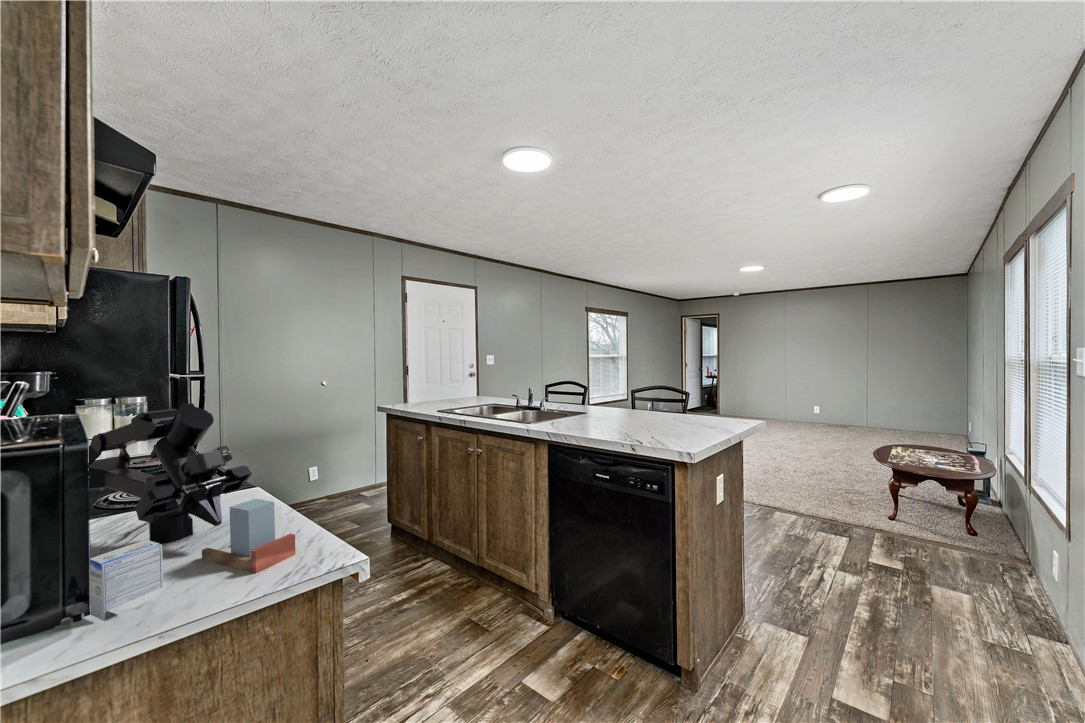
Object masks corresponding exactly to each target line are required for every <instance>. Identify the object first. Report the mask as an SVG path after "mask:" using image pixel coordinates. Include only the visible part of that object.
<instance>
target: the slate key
mask: <svg viewBox="0 0 1085 723" xmlns="http://www.w3.org/2000/svg"><path fill="white" fill-rule="evenodd" d="M275 522H276V520H275V501H271V500H266V499H265V500H264V499H260V498H253V499H250V500H247V501H244V502H242V503H239V504H235V505H231V506H230V507H229V529H230V530H229V531H230V532H229V534H230V535H229V536H230V538H229V539H230V540H229V541H230V553H232V554H236V555H241V556H245V557H249V558H251V550H253V549H255V548H258V547H260V546H262V545H265V544H267V543H269V542H272V541H274V540H276V527H275V526H276V525H275Z"/></svg>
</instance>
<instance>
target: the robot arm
mask: <svg viewBox="0 0 1085 723" xmlns="http://www.w3.org/2000/svg"><path fill="white" fill-rule="evenodd" d="M214 421H215V420H214V416H213V415H212V413H211V412H209V411H207V410H205V409H204V408H201V407H198V406H195V404H194V403H192V402H190V403H182V404H181V405H180V406H179V408H178V409H177V408H171V409H162V410H155V411H153V410H152V411H145V412H139V413H138V414H136V415H135V416H133V417H131V419H130V423H129V424H125V425H123V426H118V427H117V428H114V429H111V430H107V431H106V432H101V433H99V432H98V433H97V434H95V435H93V436H92V439H91V441H90V443H89V445H88V447H89V476H90V479H89V489H88V490H95V489H103V488H108V489H112V490H114V491H117V492H120V493H124V494H126V495H130V496H133V497H136V498H139V501H138V502H137V503H136V505H135V506H134V507H135V513H136V515H137V516H136V517H137V519H138V521H141V522H145V523H148V534H149V536H148V537H149V538H148V539H149V540H148V541H152V542H156V543H159V544H161V545H162V546H163V545H164V544H168V543H173V542H177V541H180V540H183V539H184V538H188V537H190V536H191V537H192V536H193V535H194V524H193V522H194V520H193V517H192V516H194V517H197V518H198V519H200V520H203V521H204V522H206V523H208V524H210V525H212V526H213V527H217V526H220V525H221V524H222V523H223V519H222V509H221V507H222V506H221V494H224V495H227V494H231V493H233V492H237V491H239V490H240V489H242V488H243V487H244V485H245V484H246V482H247V481H248V480H249V479H250V478H251V476H252V475H253V473H252V471H251V469H250V467H248V466H247V465H239V466H236V467H231V468H227V469H226V470H225V472H224V473H223V474H222V476H221V477H217V478H215V479H213V477H214V476H216V475H218V474H217V473H218V469H219V468H220V467H225V466H227V463H228V462H230V461H231V460H233V454H232V451H231V450H230V447H228V445H222V446H218V447H217V448H214V449H213V450H212V451H211V450H210V451H207V452H202V453H199V454H198V452H197V450H196V449H195V447H194V446H196V445H198V444H200V442H201V441H202V439H203V438H204V437H205V435H206V433H208V430H210V428H211V427H212V425H213V423H214ZM152 440H153V441H154V440H158V441H157V442H156V443H155V444H154V445H153V448H152V450H151V452H150V459H151V460H154V459H158V461H159V462H160V464H161V465H162V468H163V469H164V471H165V472H166V473H165V472H164V473H162V474H157V475H154V474H151V473H147V472H144V471H140V470H138V469H137V470H136V469H134V468H130V464H131V460H132V457H131V456H130V455H129V452H128V451H127V446H130V445H132V444H135V443H139V442H146V441H152ZM113 450H119V451H120V452H119V454H118V456H110V457H107V458H100V459H98V458H99V457H101V455H102V452H106V451H107V452H108V451H113ZM191 515H192V516H191Z"/></svg>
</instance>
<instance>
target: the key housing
mask: <svg viewBox="0 0 1085 723" xmlns="http://www.w3.org/2000/svg"><path fill="white" fill-rule="evenodd" d="M293 556H294V557H295V556H296V534H294V533H288V534H286V535H283V536H281V537H279V538H277V539H276V538H275V540H274V541H272V542H269V543H267V544H265V545H262V546H260V547H258V548H255V549H253V550H251V558H249V557H245V556H241V555H236V554H232V553H231V552H227V551H223V550H219V549H215V548H210V547H205V548H202V550H201V560H203V561H206V562H210V563H214V564H217V565H221V566H226V567H230V568H232V569H233V568H234V569H237V570H242V571H245V572H249V573H253V574H258V573H260V572H263V571H265V570H266V569H269V568H271V567H272V566H275V565H277V564H280V563H281V562H283V561H285V560H287V559H290V558H292V557H293Z"/></svg>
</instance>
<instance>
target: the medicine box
mask: <svg viewBox="0 0 1085 723" xmlns="http://www.w3.org/2000/svg"><path fill="white" fill-rule="evenodd" d="M89 559H90V605H91V615H90V616H92V617H94V616H95V617H94V618H96V617H98V618H97V619H99V618H100V619H99V620H101V619H102V620H101V621H107V620H108V619H111V618H113V617H115V616H118V614H117V613H115V612H111V611H110V610H112V609H115V608H117V607H120V606H122V605H124V604H127V603H129V602H133V601H134V600H136V599H138V598H141V597H143V596H145V595H148V594H150V593H152V592H155V591H157V590H160V589H162V588H164V577H163V576H164V573H163V570H164V569H163V566H164V565H163V544H162V545H161V544H159V543H156V542H152V541H149V540H148V539H145V540H141V541H137V542H136V543H132V544H128V545H126V546H123V547H120V548H117V549H113V550H111V551H108V552H106V553H102V554H99V555H96V556H93V557H91V558H90V557H89Z"/></svg>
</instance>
